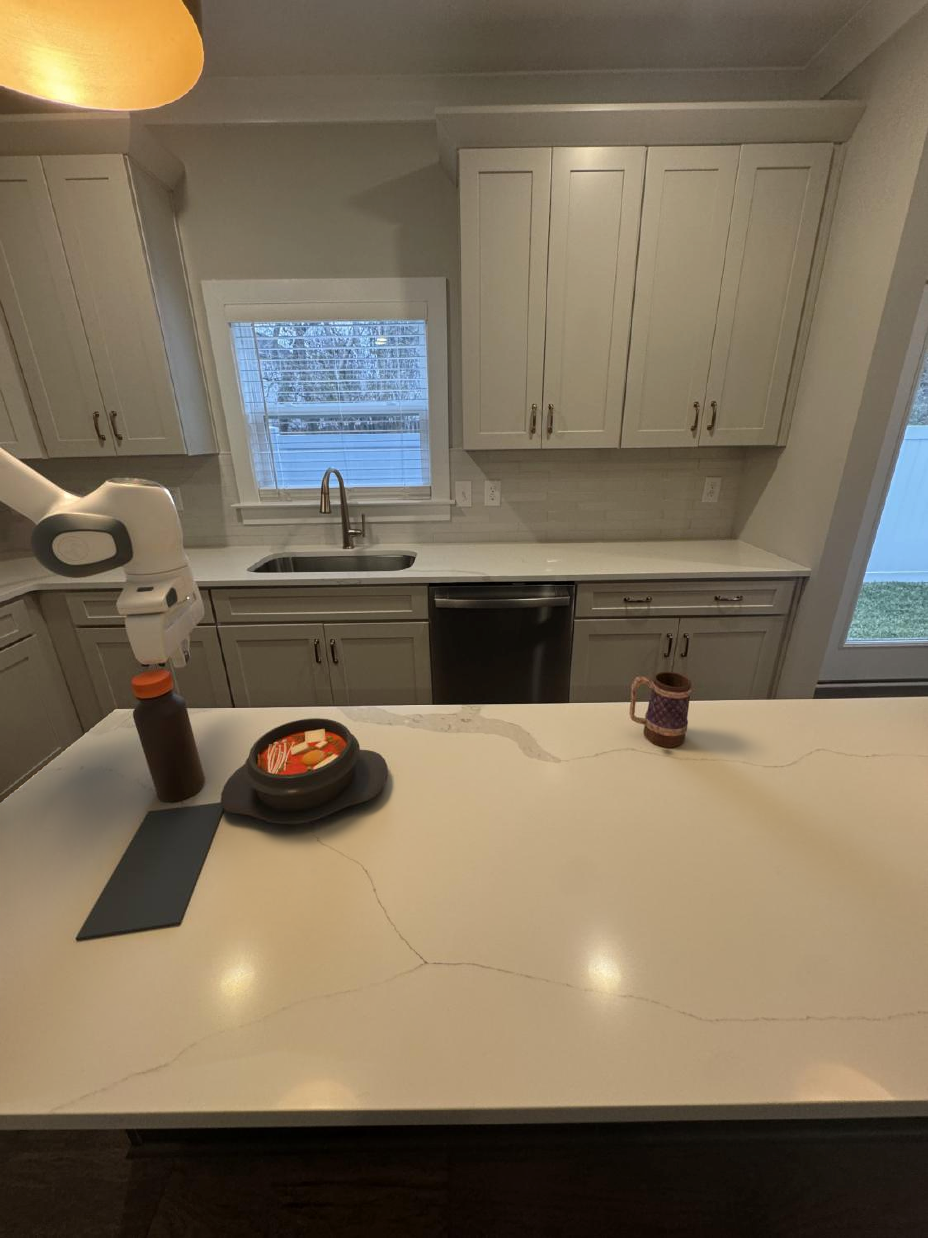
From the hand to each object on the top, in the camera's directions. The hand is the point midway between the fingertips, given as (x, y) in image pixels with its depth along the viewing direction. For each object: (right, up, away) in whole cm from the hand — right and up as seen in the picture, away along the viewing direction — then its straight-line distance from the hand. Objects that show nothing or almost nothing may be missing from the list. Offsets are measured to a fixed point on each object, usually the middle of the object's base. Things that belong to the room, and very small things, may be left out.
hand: (182, 663), depth 84 cm
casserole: (+22, -20, -5) cm, 30 cm away
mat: (+7, -25, -17) cm, 31 cm away
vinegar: (+2, -20, -4) cm, 20 cm away
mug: (+81, -14, +7) cm, 83 cm away
